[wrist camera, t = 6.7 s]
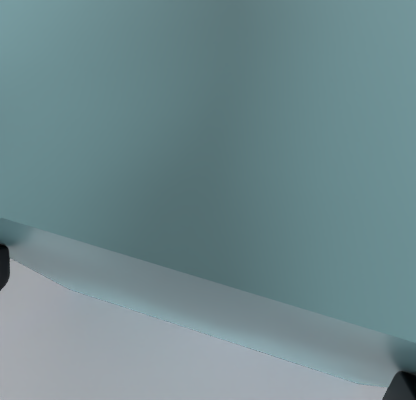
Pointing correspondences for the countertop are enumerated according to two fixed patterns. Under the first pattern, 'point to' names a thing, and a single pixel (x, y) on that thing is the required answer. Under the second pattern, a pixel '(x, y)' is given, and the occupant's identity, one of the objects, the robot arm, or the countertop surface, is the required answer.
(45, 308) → the countertop surface
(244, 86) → the crate
